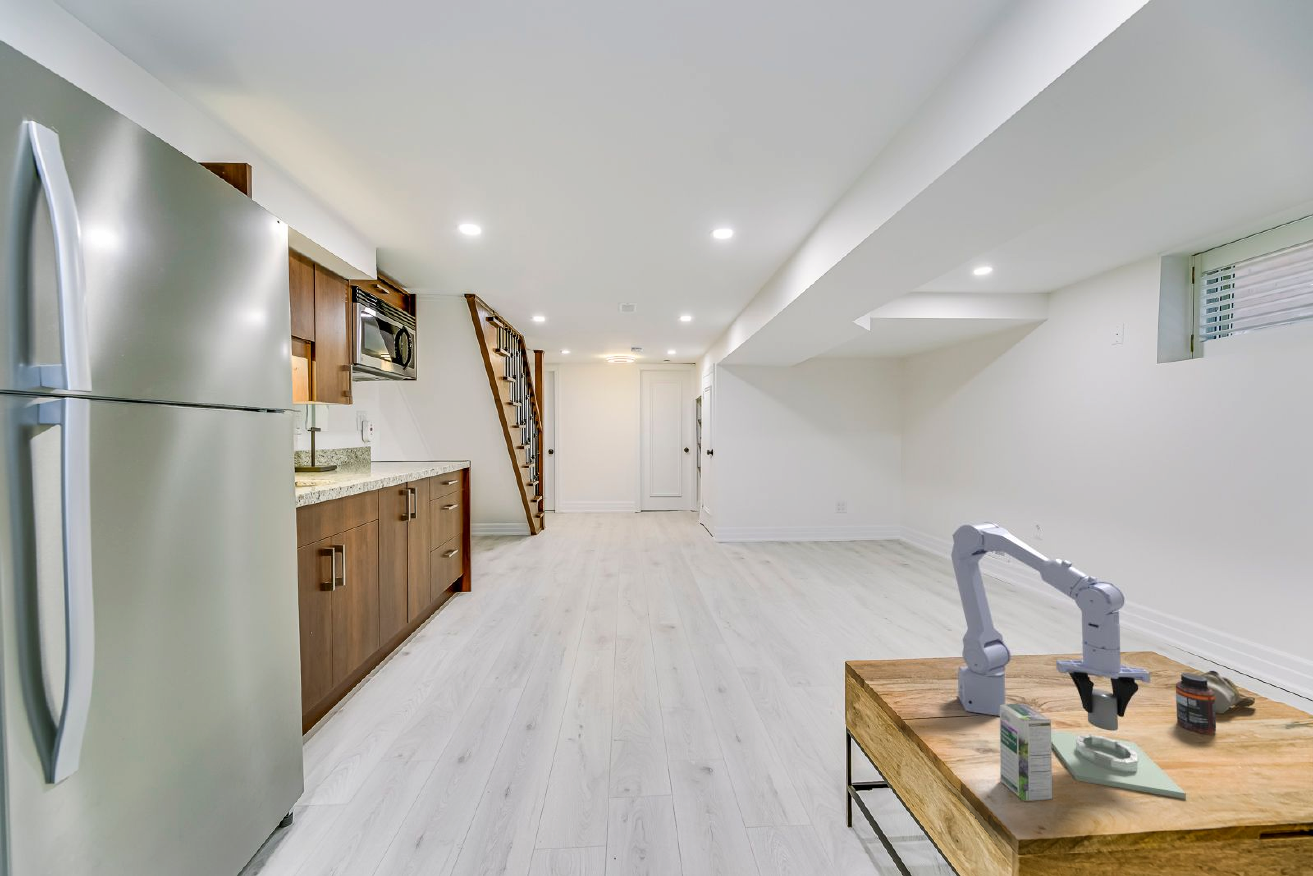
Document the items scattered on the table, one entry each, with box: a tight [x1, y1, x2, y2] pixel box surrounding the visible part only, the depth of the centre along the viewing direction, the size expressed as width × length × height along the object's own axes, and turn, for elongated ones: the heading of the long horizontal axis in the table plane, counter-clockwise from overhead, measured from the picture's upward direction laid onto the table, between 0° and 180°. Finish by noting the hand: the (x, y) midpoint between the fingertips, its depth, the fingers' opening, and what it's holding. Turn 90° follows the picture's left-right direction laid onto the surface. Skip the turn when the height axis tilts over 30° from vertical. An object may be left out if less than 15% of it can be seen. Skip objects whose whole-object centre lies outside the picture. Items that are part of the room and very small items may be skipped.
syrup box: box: [999, 703, 1053, 802], centre depth 92 cm, size 6×6×14 cm
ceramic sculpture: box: [1199, 670, 1256, 714], centre depth 120 cm, size 11×9×15 cm
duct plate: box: [1051, 729, 1187, 800], centre depth 99 cm, size 16×16×1 cm
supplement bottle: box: [1175, 672, 1217, 735], centre depth 111 cm, size 6×6×11 cm
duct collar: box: [1076, 733, 1139, 773], centre depth 99 cm, size 9×9×2 cm
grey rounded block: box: [1087, 688, 1119, 732], centre depth 101 cm, size 4×5×6 cm
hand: (1102, 712), depth 100 cm, fingers closed on grey rounded block, 4 cm apart
